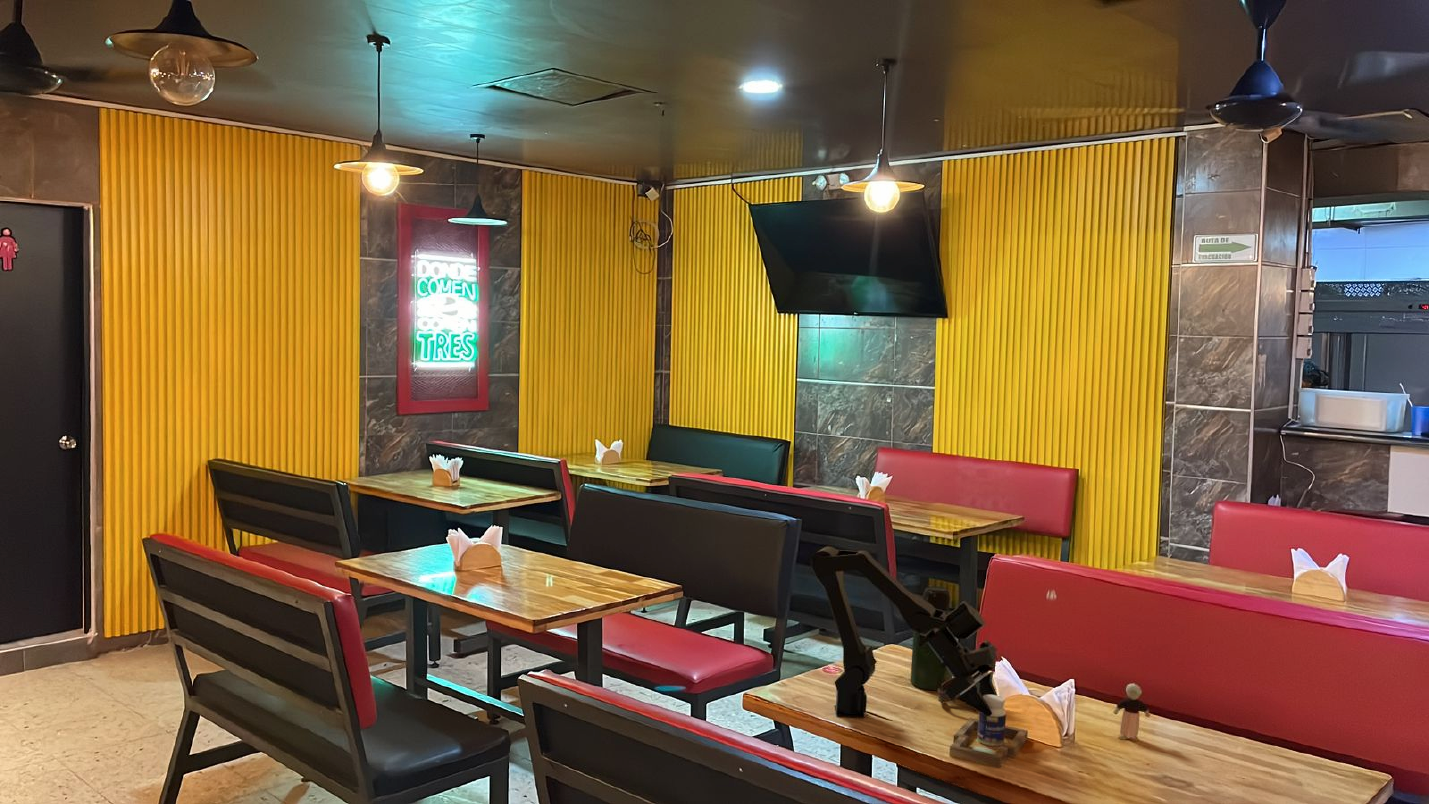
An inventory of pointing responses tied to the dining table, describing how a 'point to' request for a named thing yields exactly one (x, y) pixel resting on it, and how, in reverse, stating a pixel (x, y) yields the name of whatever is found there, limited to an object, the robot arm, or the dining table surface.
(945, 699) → the dark brown banded ring
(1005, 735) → the keyhole frame
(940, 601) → the dark green bottle
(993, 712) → the pill bottle
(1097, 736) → the dining table surface
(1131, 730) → the grandmother figurine
